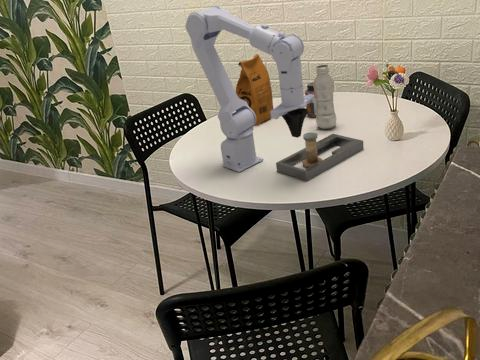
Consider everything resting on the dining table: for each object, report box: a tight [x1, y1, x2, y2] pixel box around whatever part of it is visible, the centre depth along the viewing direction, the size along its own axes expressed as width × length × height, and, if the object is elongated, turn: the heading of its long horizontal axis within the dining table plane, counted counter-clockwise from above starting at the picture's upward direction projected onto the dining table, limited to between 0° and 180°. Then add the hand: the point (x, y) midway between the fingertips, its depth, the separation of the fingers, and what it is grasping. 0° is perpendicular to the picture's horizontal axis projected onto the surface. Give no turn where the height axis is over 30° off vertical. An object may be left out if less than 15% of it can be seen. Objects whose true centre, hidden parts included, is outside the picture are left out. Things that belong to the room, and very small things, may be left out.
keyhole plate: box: [275, 133, 365, 182], centre depth 142 cm, size 24×11×3 cm, turn 131°
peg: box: [301, 131, 323, 169], centre depth 139 cm, size 6×6×9 cm
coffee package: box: [235, 53, 274, 127], centre depth 176 cm, size 10×12×22 cm
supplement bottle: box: [304, 81, 317, 119], centre depth 174 cm, size 6×6×11 cm
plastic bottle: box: [312, 64, 337, 130], centre depth 160 cm, size 6×7×20 cm
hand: (296, 136), depth 134 cm, fingers closed
